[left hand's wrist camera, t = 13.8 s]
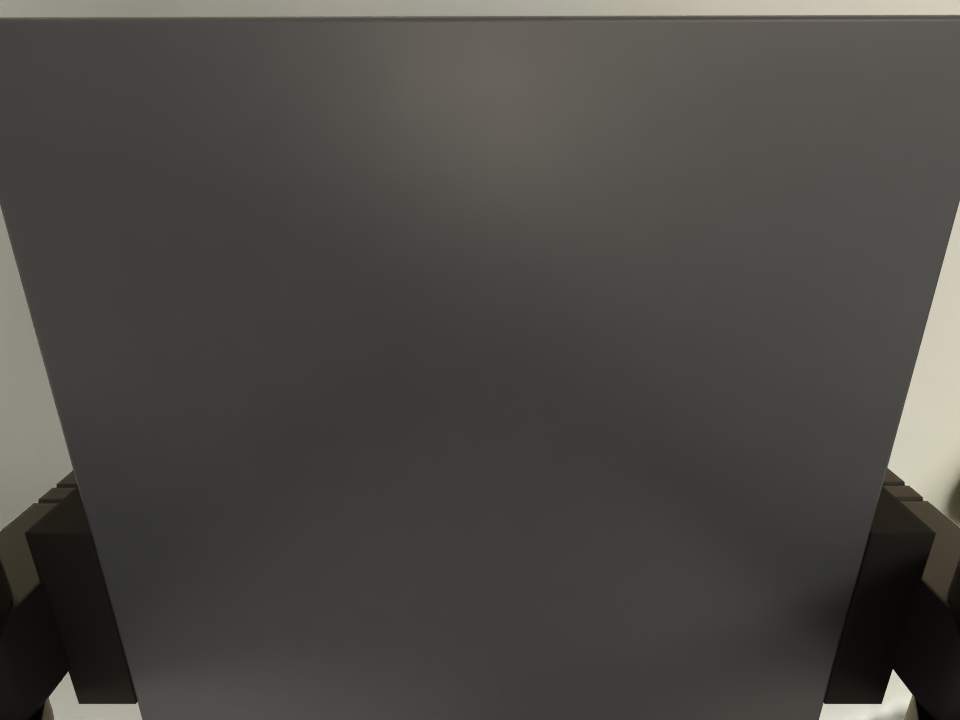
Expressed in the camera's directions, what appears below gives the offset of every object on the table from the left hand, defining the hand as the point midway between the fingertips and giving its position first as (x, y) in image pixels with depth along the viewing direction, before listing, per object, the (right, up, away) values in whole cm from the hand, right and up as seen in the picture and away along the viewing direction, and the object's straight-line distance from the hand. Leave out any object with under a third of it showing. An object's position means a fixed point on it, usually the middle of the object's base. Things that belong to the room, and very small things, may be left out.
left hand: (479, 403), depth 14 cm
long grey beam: (0, -23, +9) cm, 25 cm away
